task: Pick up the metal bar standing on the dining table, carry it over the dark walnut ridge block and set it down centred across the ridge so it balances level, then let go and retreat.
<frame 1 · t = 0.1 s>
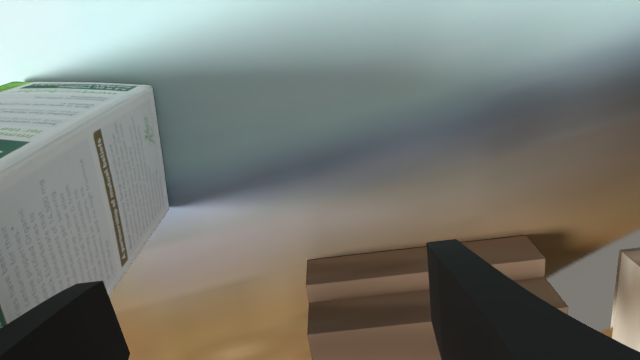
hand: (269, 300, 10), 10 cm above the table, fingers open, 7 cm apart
walnut ridge: (418, 293, 22), on the table
syrup box: (100, 149, 19), on the table, touching gripper
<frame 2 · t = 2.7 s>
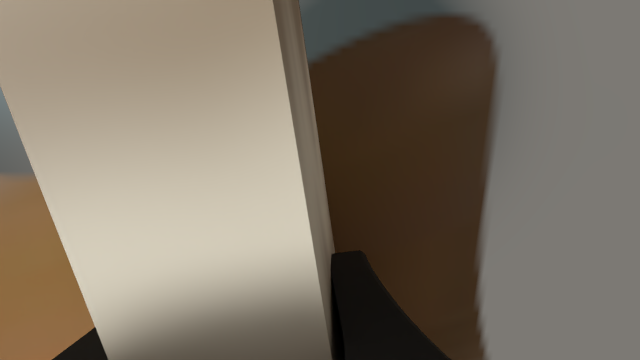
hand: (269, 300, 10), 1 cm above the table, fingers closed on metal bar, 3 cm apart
metal bar: (276, 263, 11), on the table, touching gripper
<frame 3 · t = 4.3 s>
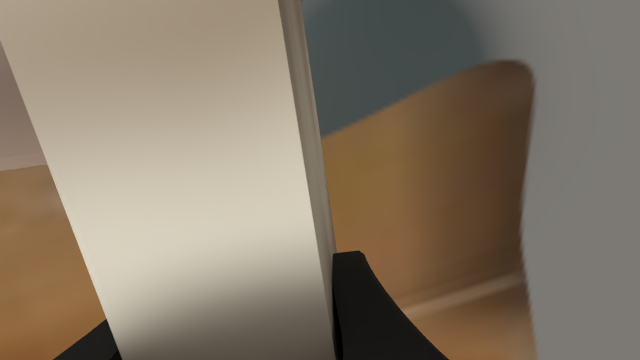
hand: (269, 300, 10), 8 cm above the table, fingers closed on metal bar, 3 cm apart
walnut ridge: (76, 77, 17), on the table
metal bar: (278, 258, 12), point 7 cm above the table, touching gripper
when the fingers open (6 cm above the table, at t = 5.7 s): metal bar stays where it is, resting on walnut ridge.
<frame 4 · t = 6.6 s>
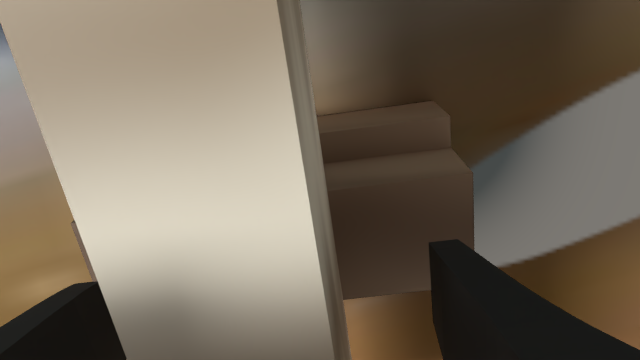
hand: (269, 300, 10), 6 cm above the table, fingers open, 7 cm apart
walnut ridge: (288, 193, 15), on the table
metal bar: (278, 257, 12), point 4 cm above the table, touching walnut ridge
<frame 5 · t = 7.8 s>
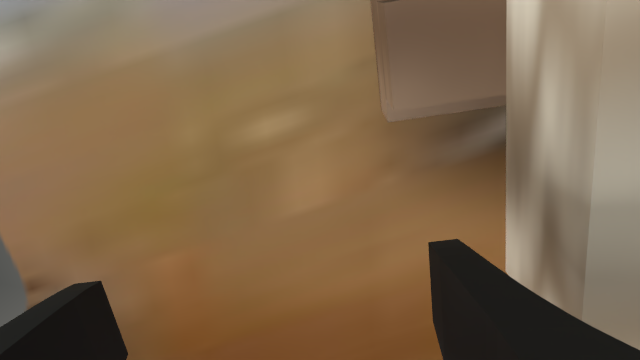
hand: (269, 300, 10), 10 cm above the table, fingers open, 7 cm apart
walnut ridge: (507, 25, 17), on the table
metal bar: (557, 35, 13), point 4 cm above the table, touching walnut ridge
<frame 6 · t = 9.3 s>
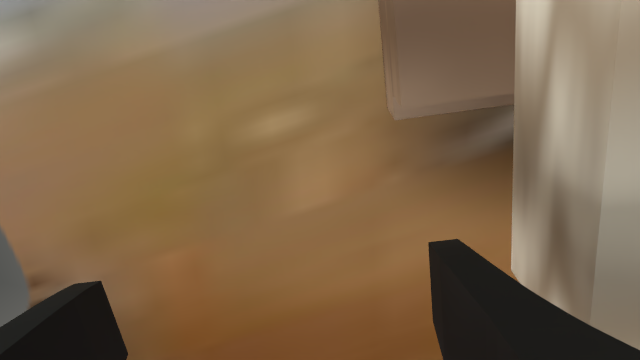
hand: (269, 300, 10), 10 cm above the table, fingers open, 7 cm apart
walnut ridge: (514, 25, 17), on the table
metal bar: (566, 34, 13), point 4 cm above the table, touching walnut ridge
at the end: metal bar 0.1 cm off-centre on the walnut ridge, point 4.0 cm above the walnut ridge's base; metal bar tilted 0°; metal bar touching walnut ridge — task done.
